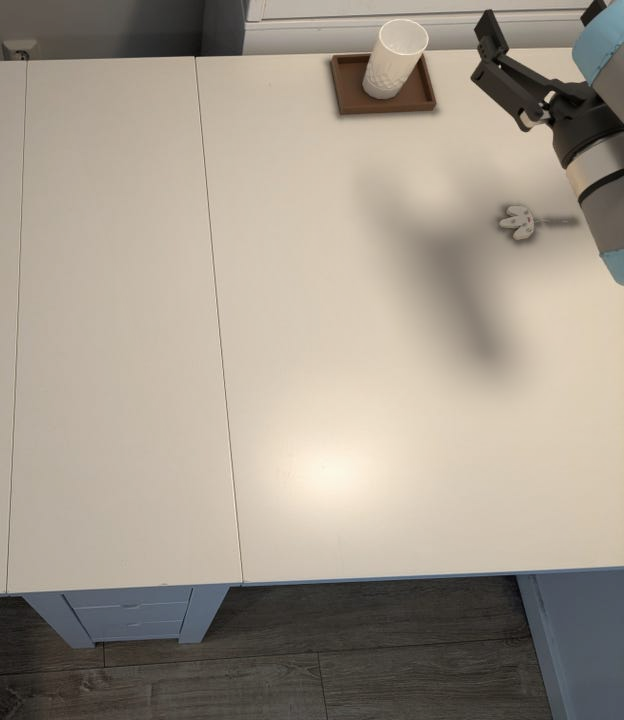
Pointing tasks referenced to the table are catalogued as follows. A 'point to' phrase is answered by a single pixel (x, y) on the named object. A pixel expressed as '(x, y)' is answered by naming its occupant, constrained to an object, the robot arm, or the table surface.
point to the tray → (357, 101)
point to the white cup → (394, 57)
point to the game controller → (519, 221)
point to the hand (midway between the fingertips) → (536, 13)
